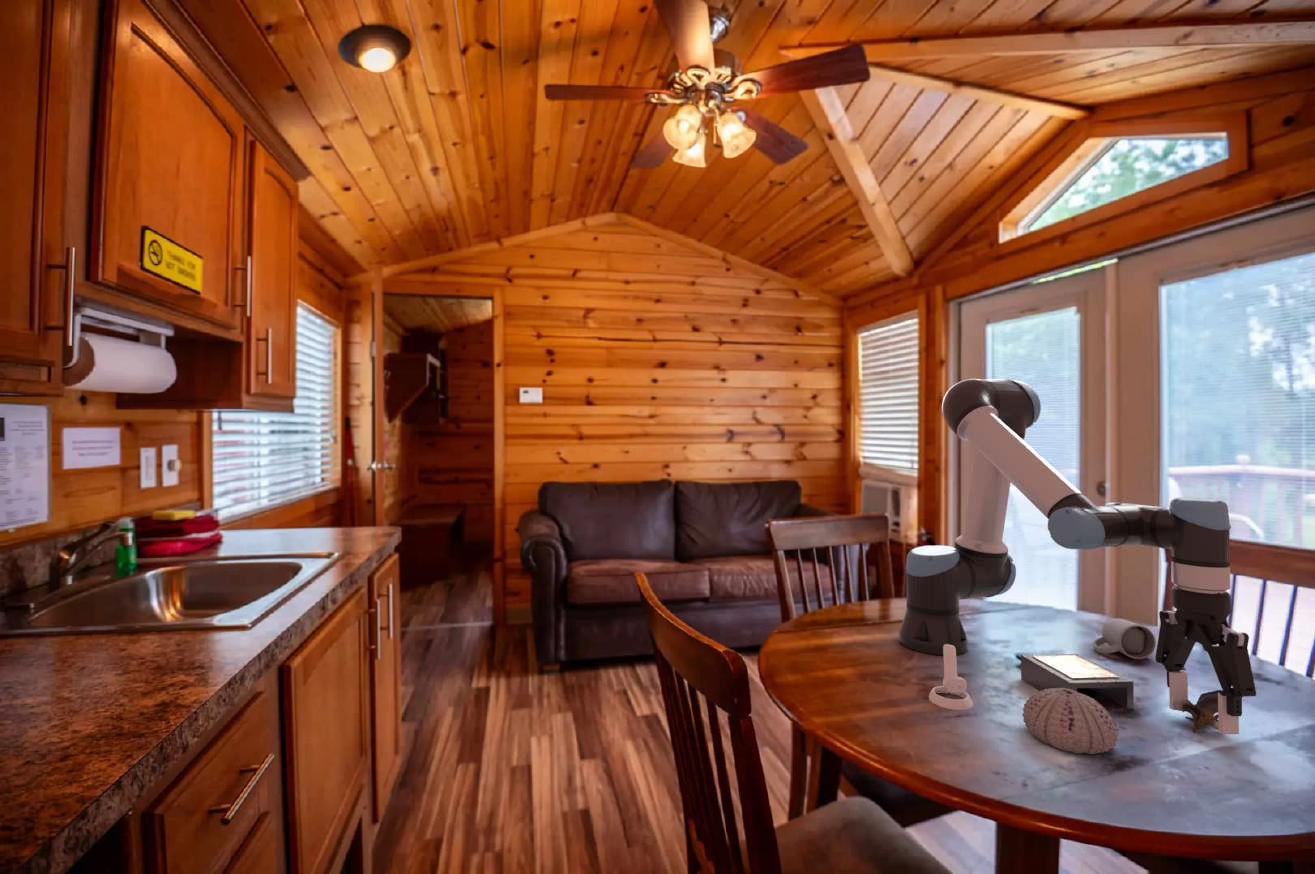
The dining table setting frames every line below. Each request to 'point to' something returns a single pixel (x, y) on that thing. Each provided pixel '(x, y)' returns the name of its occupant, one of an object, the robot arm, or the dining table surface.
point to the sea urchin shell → (1070, 721)
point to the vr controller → (951, 684)
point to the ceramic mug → (1126, 639)
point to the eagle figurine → (1201, 709)
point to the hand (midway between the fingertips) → (1202, 720)
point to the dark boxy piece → (1076, 676)
